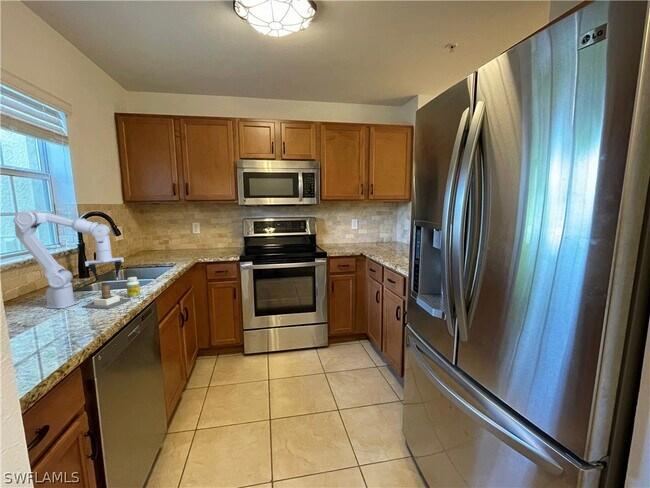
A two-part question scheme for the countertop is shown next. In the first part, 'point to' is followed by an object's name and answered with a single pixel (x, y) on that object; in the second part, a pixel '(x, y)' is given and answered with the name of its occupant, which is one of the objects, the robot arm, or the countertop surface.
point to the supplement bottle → (133, 287)
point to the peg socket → (106, 302)
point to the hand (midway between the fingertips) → (107, 278)
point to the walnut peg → (105, 292)
